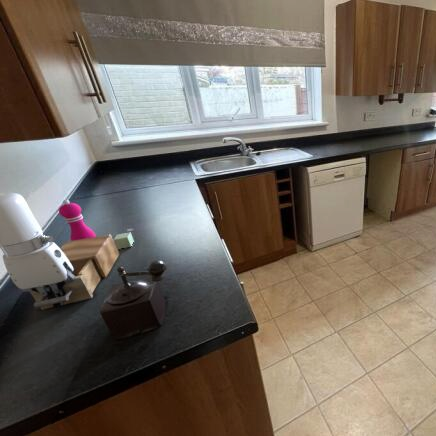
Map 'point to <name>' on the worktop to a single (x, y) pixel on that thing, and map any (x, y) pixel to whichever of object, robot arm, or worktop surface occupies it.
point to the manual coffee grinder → (135, 303)
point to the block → (123, 240)
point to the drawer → (74, 285)
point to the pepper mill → (75, 221)
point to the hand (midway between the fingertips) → (60, 302)
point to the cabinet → (93, 251)
